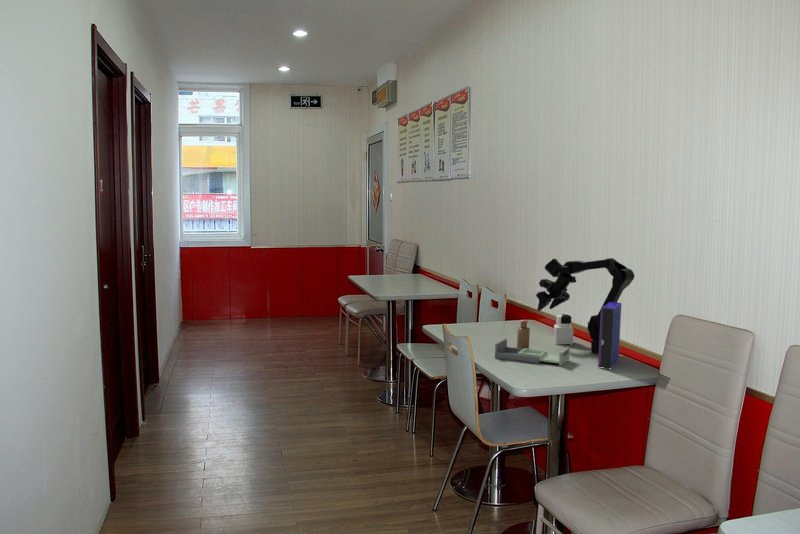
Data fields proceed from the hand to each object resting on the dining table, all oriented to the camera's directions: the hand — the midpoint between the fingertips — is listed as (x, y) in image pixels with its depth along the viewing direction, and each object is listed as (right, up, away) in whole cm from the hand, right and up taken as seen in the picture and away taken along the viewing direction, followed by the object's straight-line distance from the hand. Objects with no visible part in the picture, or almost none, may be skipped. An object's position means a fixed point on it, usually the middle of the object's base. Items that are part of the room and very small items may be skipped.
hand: (544, 309), depth 315 cm
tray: (-8, -18, -36) cm, 41 cm away
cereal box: (+18, -20, -40) cm, 48 cm away
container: (+8, -15, -2) cm, 18 cm away
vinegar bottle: (-13, -17, -19) cm, 28 cm away
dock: (-16, -18, -32) cm, 40 cm away
